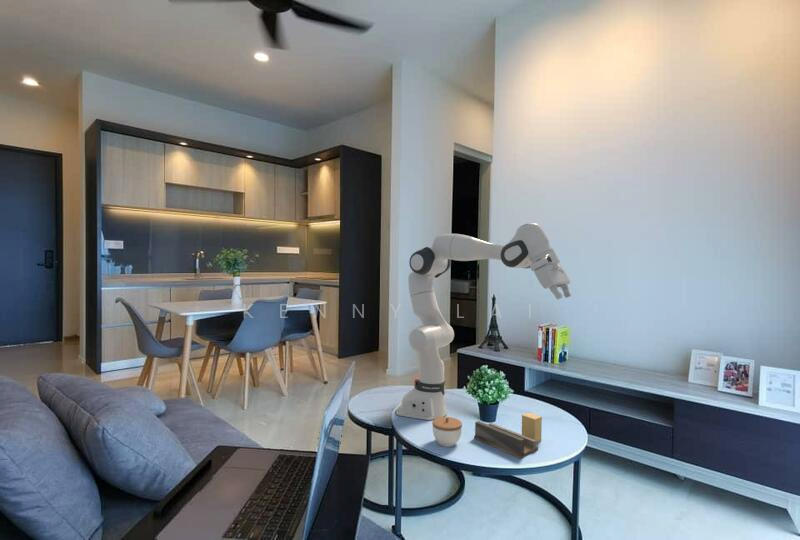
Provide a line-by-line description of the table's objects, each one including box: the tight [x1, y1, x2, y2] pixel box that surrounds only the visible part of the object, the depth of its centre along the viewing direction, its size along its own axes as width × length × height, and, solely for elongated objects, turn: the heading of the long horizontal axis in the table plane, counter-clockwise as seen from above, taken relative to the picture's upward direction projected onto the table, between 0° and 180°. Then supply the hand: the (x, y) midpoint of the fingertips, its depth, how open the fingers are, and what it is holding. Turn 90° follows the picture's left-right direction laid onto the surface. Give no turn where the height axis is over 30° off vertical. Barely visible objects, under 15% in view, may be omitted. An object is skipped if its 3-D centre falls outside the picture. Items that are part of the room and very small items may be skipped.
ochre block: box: [521, 412, 543, 443], centre depth 152 cm, size 4×6×9 cm
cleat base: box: [473, 420, 539, 459], centre depth 148 cm, size 11×20×6 cm, turn 39°
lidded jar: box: [431, 416, 463, 448], centre depth 148 cm, size 11×11×9 cm
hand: (564, 297), depth 142 cm, fingers open, 8 cm apart
